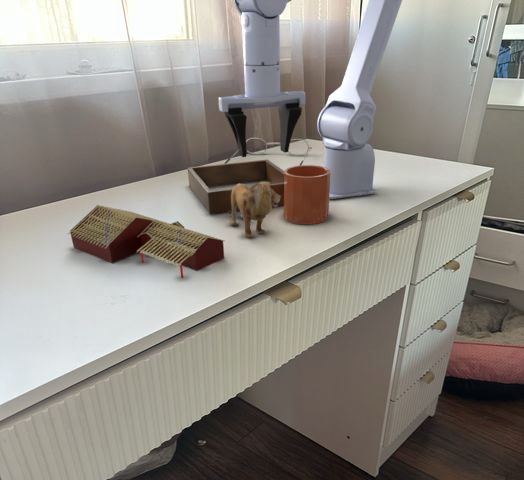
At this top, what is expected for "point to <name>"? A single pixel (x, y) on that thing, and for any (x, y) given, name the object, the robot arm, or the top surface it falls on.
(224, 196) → the wooden frame
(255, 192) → the lion figurine
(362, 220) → the top surface
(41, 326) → the top surface
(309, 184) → the cup
